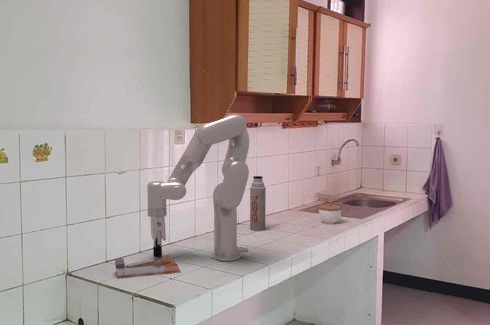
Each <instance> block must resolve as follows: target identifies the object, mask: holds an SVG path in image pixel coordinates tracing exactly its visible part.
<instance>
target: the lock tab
mask: <svg viewBox="0 0 490 325" xmlns="http://www.w3.org/2000/svg"><path fill="white" fill-rule="evenodd" d="M114 265H115V270H116V269H121V268H125V266H126V263H125V260H124V258H114Z"/></svg>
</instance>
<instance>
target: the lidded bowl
mask: <svg viewBox="0 0 490 325" xmlns="http://www.w3.org/2000/svg"><path fill="white" fill-rule="evenodd" d="M342 209H343V207H342V205H338V204H332V202H329V203H327V204H320V205H318V215H319V218H320V220H321V221H322V222H323V224H327V225H334V224H337V222H338V221H339V220H340V219H341V216H342Z"/></svg>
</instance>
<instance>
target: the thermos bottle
mask: <svg viewBox="0 0 490 325" xmlns="http://www.w3.org/2000/svg"><path fill="white" fill-rule="evenodd" d="M252 178H253V181H252V182H251V186H250V187H249V188H250V189H249V190H250V194H249V195H250V196H249V219H250V220H249V230H250V231H252V230H253V232H263V231H266V199H267V197H266V186H265V182H264V181H263V179H264V178H263V176H260V175H255V176H253V177H252Z"/></svg>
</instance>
